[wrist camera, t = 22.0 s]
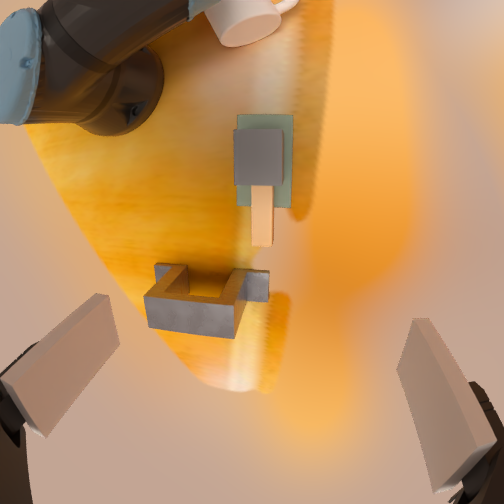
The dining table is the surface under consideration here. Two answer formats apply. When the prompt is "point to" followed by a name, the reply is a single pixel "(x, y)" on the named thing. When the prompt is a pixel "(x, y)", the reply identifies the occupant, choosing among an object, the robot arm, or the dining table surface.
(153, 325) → the housing
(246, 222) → the dining table surface
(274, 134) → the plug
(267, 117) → the pad
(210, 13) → the mug
